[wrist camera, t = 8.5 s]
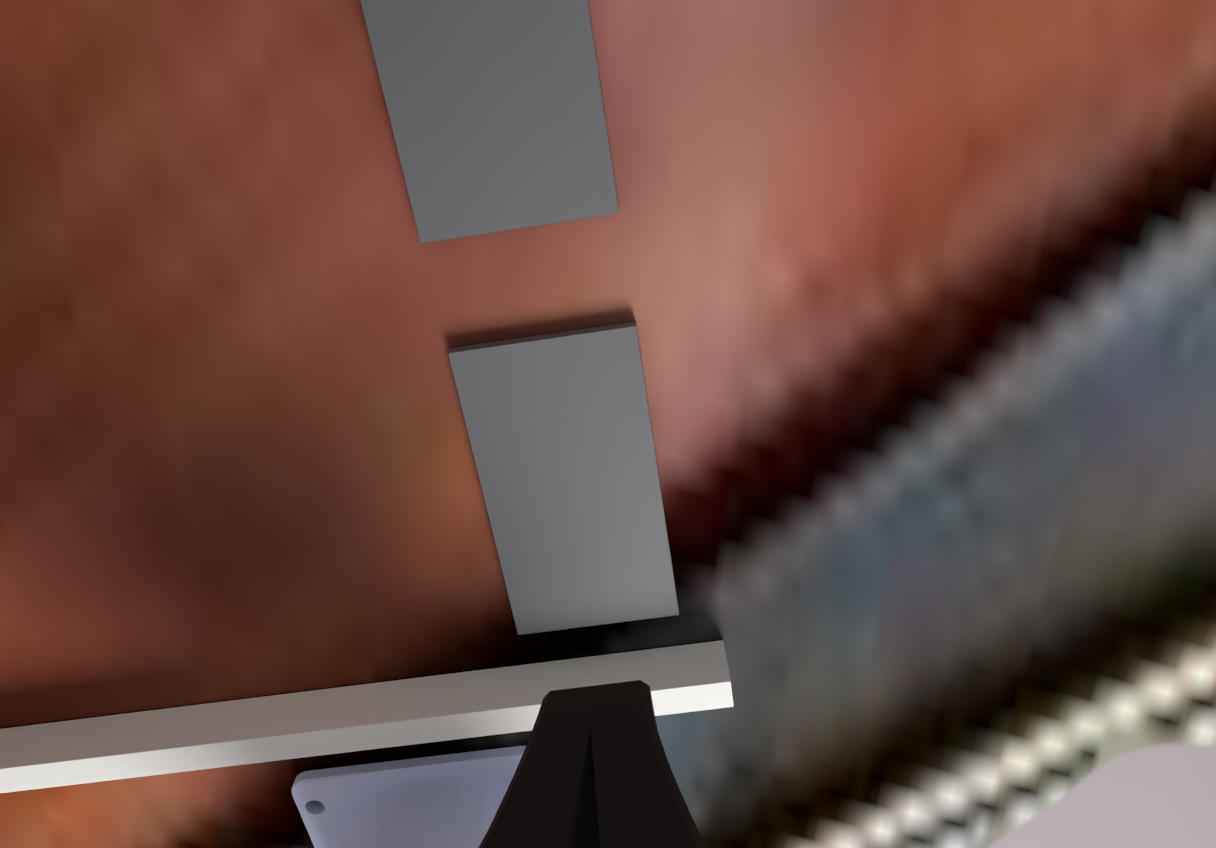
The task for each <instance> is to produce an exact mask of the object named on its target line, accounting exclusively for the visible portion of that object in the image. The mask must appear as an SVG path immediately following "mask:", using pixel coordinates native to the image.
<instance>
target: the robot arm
mask: <svg viewBox="0 0 1216 848" xmlns="http://www.w3.org/2000/svg"><path fill="white" fill-rule="evenodd" d="M291 791H292V796H293V798H294V801H295V803H296V805H297V808H298V810H299V812H300V815H301V817H302V819H303V822H304V824H305V826H306V829H307V831H308V833H309V836H310V838H311V840H312V843H313V845H314V848H707V847H706V845H705V843H704V841H703V839H702V837H701V835H700V833H699V831H698V829H697V827H696V825H695V823H694V821H693V819H692V817H691V814H690V812H689V810H688V808H687V806H686V803H685V801H684V799H683V796H682V794H681V792H680V789H679V787H678V785H677V783H676V780H675V778H674V776H673V773H672V771H671V768H670V765H669V763H668V760H667V758H666V755H665V752H664V749H663V746H662V743H661V740H660V737H659V734H658V730H657V725H656V719H655V714H654V708H653V702H652V696H651V691H650V686H649V685H647V684H646V683H644V682H643V681H641V680H636V681H628V682H619V683H611V684H603V685H595V686H586V687H578V688H570V689H561V690H553V691H549V693H548V694H547V695H546V696H545V697H544V698H543V700H542V703H541V707H540V710H539V713H538V716H537V719H536V721H535V724H534V727H533V730H532V732H531V735H530V737H529V740H528V743H527V745H524V746H515V747H507V748H498V749H490V750H481V751H473V752H464V753H455V754H447V755H438V756H430V757H421V758H413V759H404V760H396V761H387V762H379V763H370V764H362V765H353V766H344V767H336V768H327V769H319V770H310V771H305V772H302V773H300V774H299V775H298V776H296V779H295V781H294V784H293V786H292V789H291ZM313 800H314V801H313ZM315 801H319V802H315Z"/></svg>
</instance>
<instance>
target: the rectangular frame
mask: <svg viewBox="0 0 1216 848" xmlns="http://www.w3.org/2000/svg"><path fill="white" fill-rule="evenodd" d="M360 1H361V5H362V9H363V13H364V17H365V21H366V25H367V29H368V33H369V37H370V41H371V45H372V49H373V53H374V57H375V61H376V65H377V69H378V73H379V77H380V81H381V85H382V89H383V93H384V97H385V101H386V106H387V110H388V114H389V118H390V122H391V126H392V130H393V134H394V138H395V142H396V146H397V150H398V154H399V158H400V162H401V166H402V170H403V174H404V178H405V182H406V186H407V190H408V194H409V198H410V202H411V206H412V210H413V214H414V218H415V222H416V226H417V230H418V234H419V238H420V242H421V243H427V242H433V241H440V240H447V239H453V238H460V237H466V236H473V235H479V234H486V233H492V232H499V231H505V230H512V229H518V228H525V227H531V226H538V225H544V224H551V223H557V222H564V221H571V220H577V219H584V218H590V217H597V216H603V215H610V214H616V213H619V206H618V200H617V193H616V186H615V179H614V173H613V166H612V159H611V153H610V146H609V139H608V132H607V126H606V119H605V112H604V106H603V99H602V92H601V86H600V79H599V72H598V65H597V59H596V52H595V45H594V39H593V32H592V25H591V18H590V12H589V5H588V0H360ZM448 355H449V359H450V363H451V367H452V371H453V375H454V379H455V383H456V387H457V391H458V395H459V399H460V403H461V407H462V411H463V415H464V419H465V423H466V427H467V431H468V435H469V439H470V443H471V447H472V451H473V456H474V460H475V464H476V468H477V472H478V476H479V480H480V484H481V488H482V492H483V496H484V500H485V504H486V508H487V512H488V516H489V520H490V524H491V528H492V532H493V536H494V540H495V544H496V548H497V552H498V556H499V560H500V564H501V568H502V572H503V576H504V580H505V584H506V588H507V592H508V596H509V600H510V604H511V608H512V612H513V616H514V620H515V624H516V629H517V633H518V635H522V634H530V633H538V632H546V631H554V630H562V629H570V628H578V627H586V626H594V625H602V624H610V623H618V622H626V621H634V620H642V619H650V618H658V617H666V616H674V615H679V609H678V602H677V595H676V588H675V582H674V575H673V568H672V562H671V555H670V548H669V541H668V535H667V528H666V521H665V515H664V508H663V501H662V495H661V488H660V481H659V474H658V468H657V461H656V454H655V448H654V441H653V434H652V427H651V421H650V414H649V407H648V401H647V394H646V387H645V381H644V374H643V367H642V360H641V354H640V347H639V340H638V334H637V327H636V321H632V322H625V323H618V324H612V325H605V326H598V327H591V328H584V329H577V330H570V331H563V332H557V333H550V334H543V335H536V336H529V337H522V338H515V339H509V340H502V341H495V342H488V343H481V344H474V345H467V346H460V347H454V348H450V350H449V352H448ZM636 680H641V681H643V682H644V683H646V684H647V685H649V686H650V691H651V696H652V702H653V708H654V714H655V716H659V715H667V714H676V713H684V712H693V711H701V710H710V709H718V708H727V707H734V706H733V698H732V690H731V681H730V676H729V670H728V664H727V658H726V652H725V647H724V641H723V640H720V641H712V642H704V643H696V644H688V645H680V646H671V647H663V648H655V649H647V650H639V651H631V652H622V653H614V654H606V655H598V656H590V657H582V658H574V659H565V660H557V661H549V662H541V663H533V664H525V665H517V666H508V667H500V668H492V669H484V670H476V671H468V672H460V673H451V674H443V675H435V676H427V677H419V678H411V679H403V680H394V681H386V682H378V683H370V684H362V685H354V686H346V687H337V688H329V689H321V690H313V691H305V692H297V693H289V694H280V695H272V696H264V697H256V698H248V699H240V700H232V701H223V702H215V703H207V704H199V705H191V706H183V707H175V708H166V709H158V710H150V711H142V712H134V713H126V714H117V715H109V716H101V717H93V718H85V719H77V720H69V721H60V722H52V723H44V724H36V725H28V726H20V727H12V728H3V729H0V793H7V792H15V791H24V790H32V789H41V788H49V787H58V786H66V785H75V784H83V783H92V782H100V781H109V780H117V779H125V778H134V777H142V776H151V775H159V774H168V773H176V772H185V771H193V770H202V769H210V768H219V767H227V766H236V765H244V764H252V763H261V762H269V761H278V760H286V759H295V758H303V757H312V756H320V755H329V754H337V753H346V752H354V751H363V750H371V749H379V748H388V747H396V746H405V745H413V744H422V743H430V742H439V741H447V740H456V739H464V738H473V737H481V736H490V735H498V734H506V733H515V732H523V731H532V730H533V727H534V724H535V721H536V719H537V716H538V713H539V710H540V707H541V703H542V700H543V698H544V697H545V696H546V695H547V694H548V693H549V691H553V690H561V689H570V688H578V687H586V686H595V685H603V684H611V683H619V682H628V681H636Z"/></svg>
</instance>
